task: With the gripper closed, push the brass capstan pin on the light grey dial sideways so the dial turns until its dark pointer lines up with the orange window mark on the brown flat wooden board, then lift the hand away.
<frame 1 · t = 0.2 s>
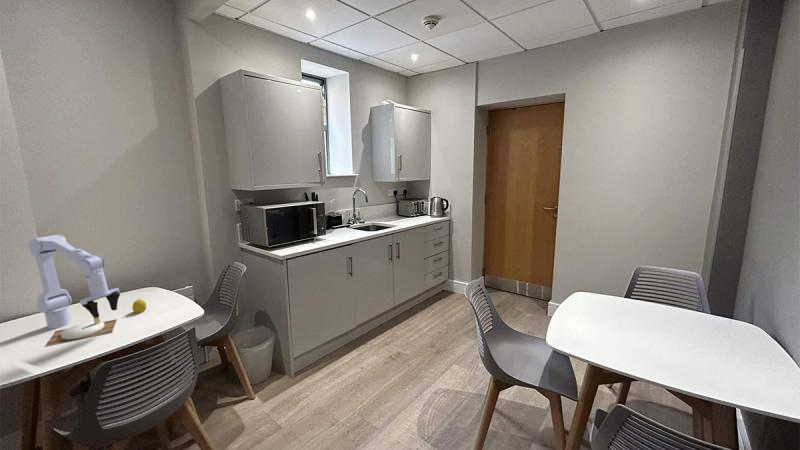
hand: (105, 313, 143), 11 cm above the table, tool pointing down, fingers open, 7 cm apart
brown flat wooden board: (84, 335, 146), on the table
dial: (82, 326, 145), point 4 cm above the table, hinge at 38.0°
lemon: (140, 314, 167), on the table
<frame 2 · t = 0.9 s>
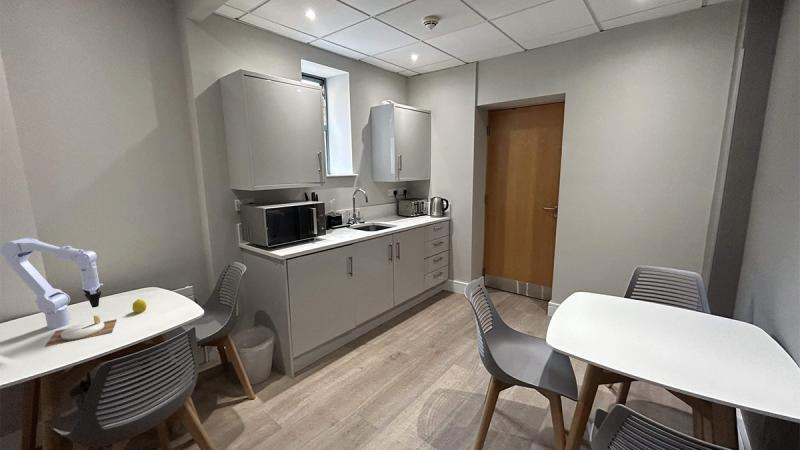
hand: (94, 304, 153), 10 cm above the table, tool pointing down, fingers open, 7 cm apart
nothing on the table moved.
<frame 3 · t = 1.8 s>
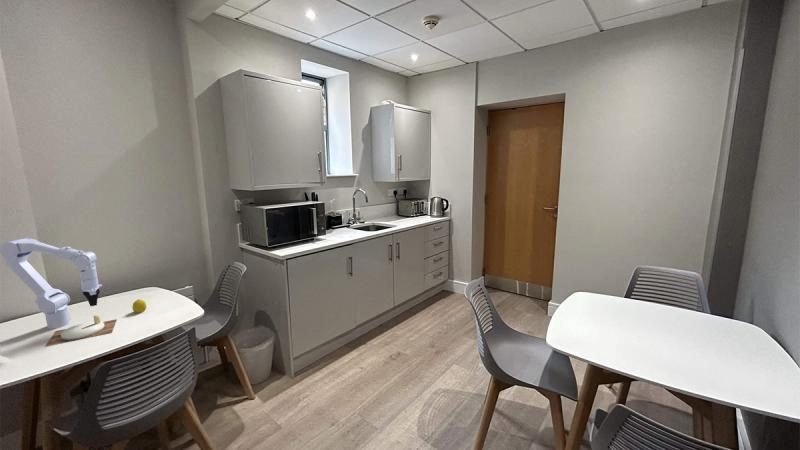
hand: (93, 305, 153), 10 cm above the table, tool pointing down, fingers closed
nothing on the table moved.
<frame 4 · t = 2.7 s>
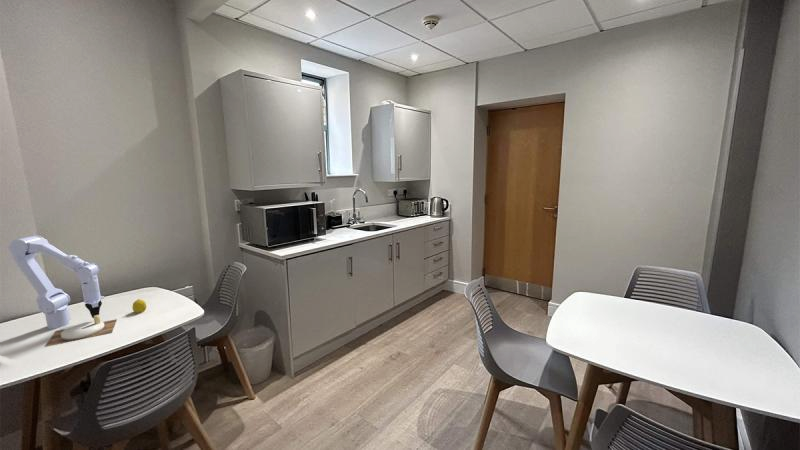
hand: (95, 317, 154), 4 cm above the table, tool pointing down, fingers closed
nothing on the table moved.
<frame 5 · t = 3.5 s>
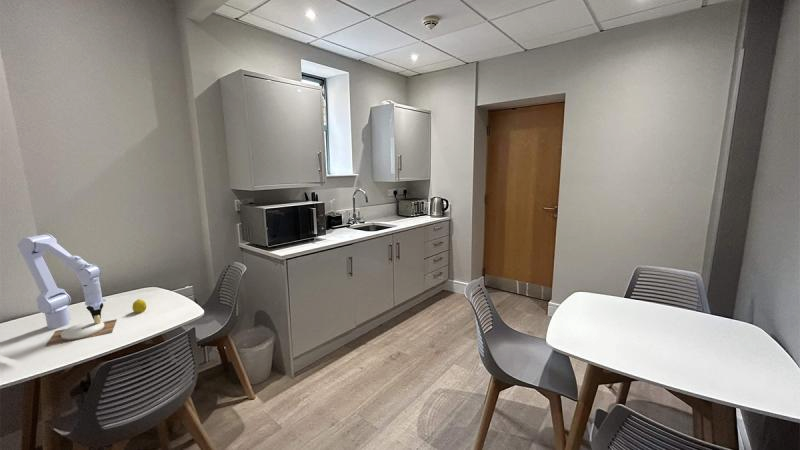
hand: (97, 319, 151), 4 cm above the table, tool pointing down, fingers closed, pressing on dial
dial: (82, 326, 145), point 4 cm above the table, hinge at 36.5°, touching gripper
everything else where it was.
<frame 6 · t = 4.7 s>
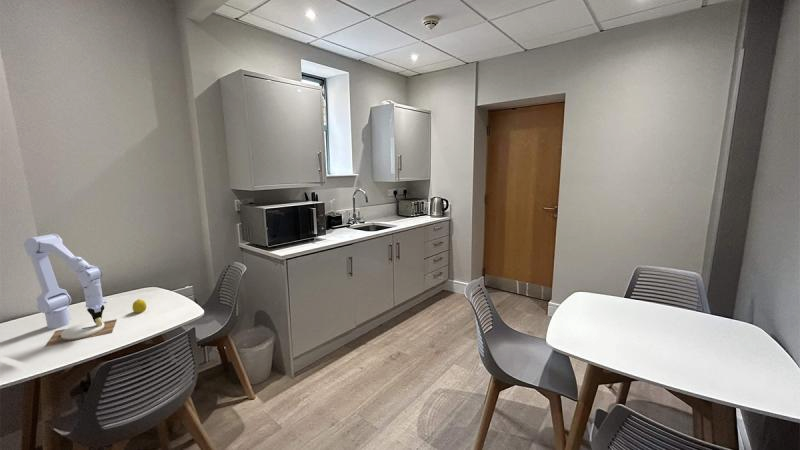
hand: (98, 322, 149), 4 cm above the table, tool pointing down, fingers closed
dial: (82, 326, 145), point 4 cm above the table, hinge at -5.3°, touching gripper
everything else where it was.
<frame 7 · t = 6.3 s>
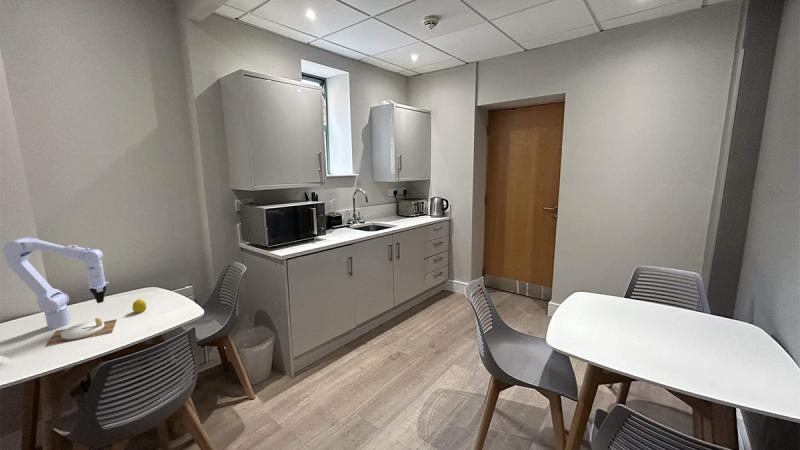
hand: (100, 302, 156), 10 cm above the table, tool pointing down, fingers closed
dial: (82, 326, 145), point 4 cm above the table, hinge at -5.4°
everything else where it was.
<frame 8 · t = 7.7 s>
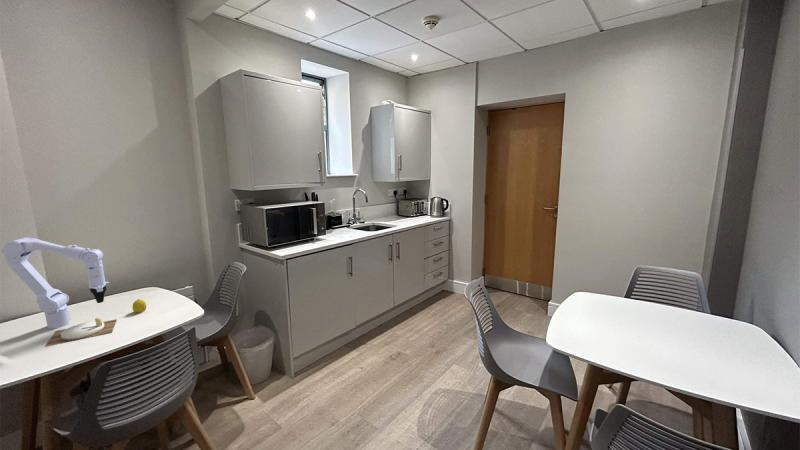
hand: (100, 302, 156), 10 cm above the table, tool pointing down, fingers closed
nothing on the table moved.
at the end: dial at -5° (first picture: +38°) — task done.
